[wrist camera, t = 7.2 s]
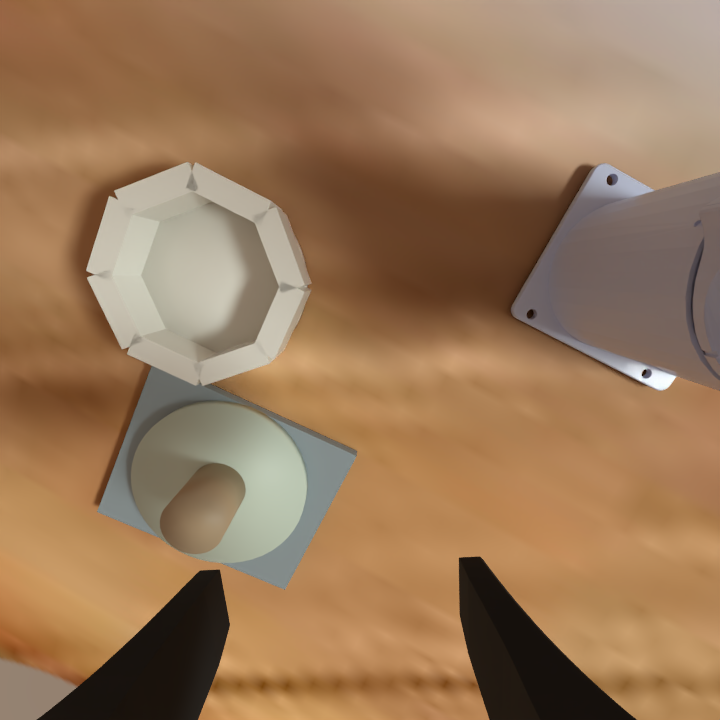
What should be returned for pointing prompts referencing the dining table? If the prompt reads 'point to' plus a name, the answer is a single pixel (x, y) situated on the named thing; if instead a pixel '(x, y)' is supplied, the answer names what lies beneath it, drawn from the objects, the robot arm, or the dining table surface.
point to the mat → (319, 452)
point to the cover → (219, 481)
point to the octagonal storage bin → (198, 274)
